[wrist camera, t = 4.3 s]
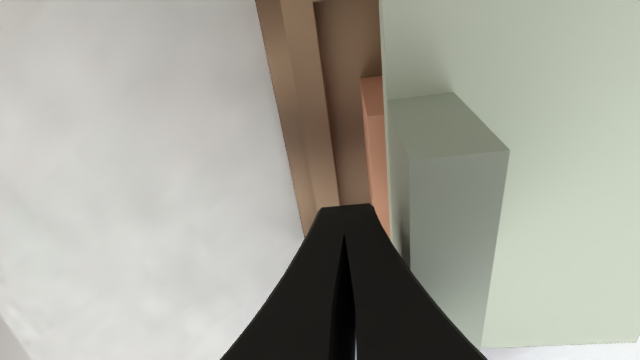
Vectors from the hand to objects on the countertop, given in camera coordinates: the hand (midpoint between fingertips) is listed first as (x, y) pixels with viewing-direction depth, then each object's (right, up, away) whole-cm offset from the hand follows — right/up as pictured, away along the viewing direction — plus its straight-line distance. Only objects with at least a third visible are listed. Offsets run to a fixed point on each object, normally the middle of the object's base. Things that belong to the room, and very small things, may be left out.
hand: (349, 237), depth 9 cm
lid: (+5, +1, +1) cm, 6 cm away
